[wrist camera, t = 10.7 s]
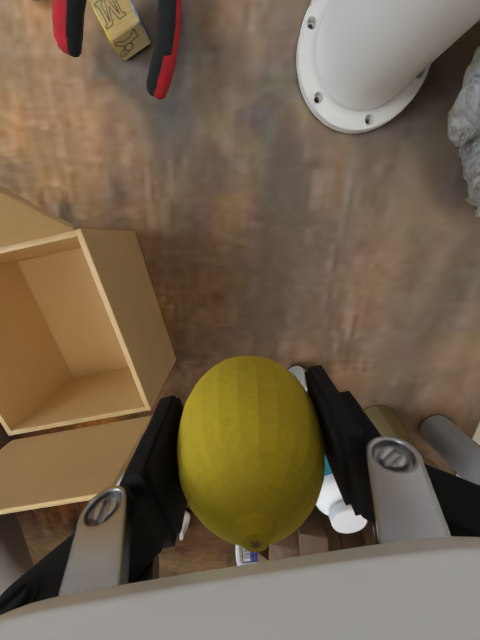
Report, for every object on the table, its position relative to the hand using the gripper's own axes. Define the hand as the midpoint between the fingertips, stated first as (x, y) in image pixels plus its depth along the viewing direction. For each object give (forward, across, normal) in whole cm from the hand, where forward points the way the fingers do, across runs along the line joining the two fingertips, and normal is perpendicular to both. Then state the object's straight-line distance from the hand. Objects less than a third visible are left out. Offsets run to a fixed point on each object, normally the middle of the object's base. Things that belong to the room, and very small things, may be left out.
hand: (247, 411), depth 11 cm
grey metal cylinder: (+22, -24, +26) cm, 42 cm away
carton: (+22, +18, -2) cm, 28 cm away
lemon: (+3, 0, 0) cm, 3 cm away
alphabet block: (+21, +4, -27) cm, 35 cm away
